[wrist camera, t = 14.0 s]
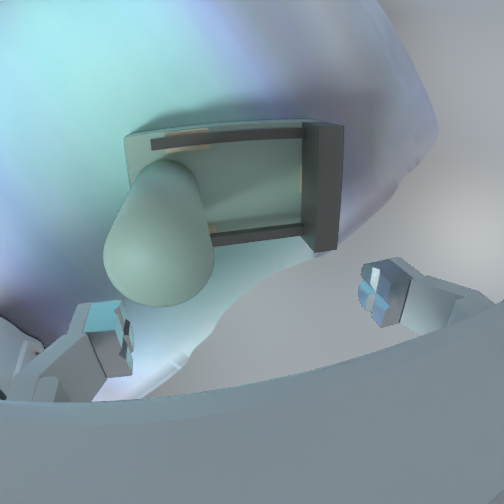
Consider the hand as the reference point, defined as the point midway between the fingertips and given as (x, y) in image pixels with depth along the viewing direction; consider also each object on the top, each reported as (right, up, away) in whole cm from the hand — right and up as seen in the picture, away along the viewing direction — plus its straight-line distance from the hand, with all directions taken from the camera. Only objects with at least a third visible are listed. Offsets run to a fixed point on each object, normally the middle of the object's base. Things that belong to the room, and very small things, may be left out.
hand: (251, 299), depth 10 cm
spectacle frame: (-1, +8, +20) cm, 21 cm away
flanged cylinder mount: (-3, +10, +24) cm, 26 cm away
